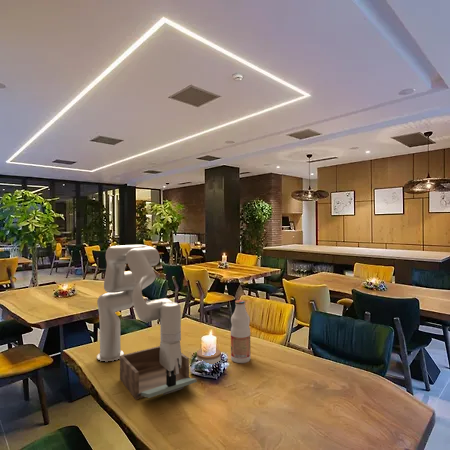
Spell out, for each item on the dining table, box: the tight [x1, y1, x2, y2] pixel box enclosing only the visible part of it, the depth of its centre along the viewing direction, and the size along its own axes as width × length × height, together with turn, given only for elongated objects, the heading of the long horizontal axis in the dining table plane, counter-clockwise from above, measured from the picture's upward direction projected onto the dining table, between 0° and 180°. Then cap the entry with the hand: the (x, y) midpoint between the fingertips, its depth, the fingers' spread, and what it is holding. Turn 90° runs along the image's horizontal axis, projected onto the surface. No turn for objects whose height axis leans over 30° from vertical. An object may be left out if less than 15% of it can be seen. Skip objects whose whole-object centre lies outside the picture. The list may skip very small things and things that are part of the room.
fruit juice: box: [230, 299, 252, 364], centre depth 154 cm, size 9×9×28 cm
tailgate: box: [141, 377, 198, 399], centre depth 122 cm, size 2×19×8 cm
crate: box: [119, 345, 191, 400], centre depth 133 cm, size 21×22×10 cm
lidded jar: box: [196, 348, 222, 364], centre depth 144 cm, size 11×11×9 cm
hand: (171, 385), depth 121 cm, fingers closed
